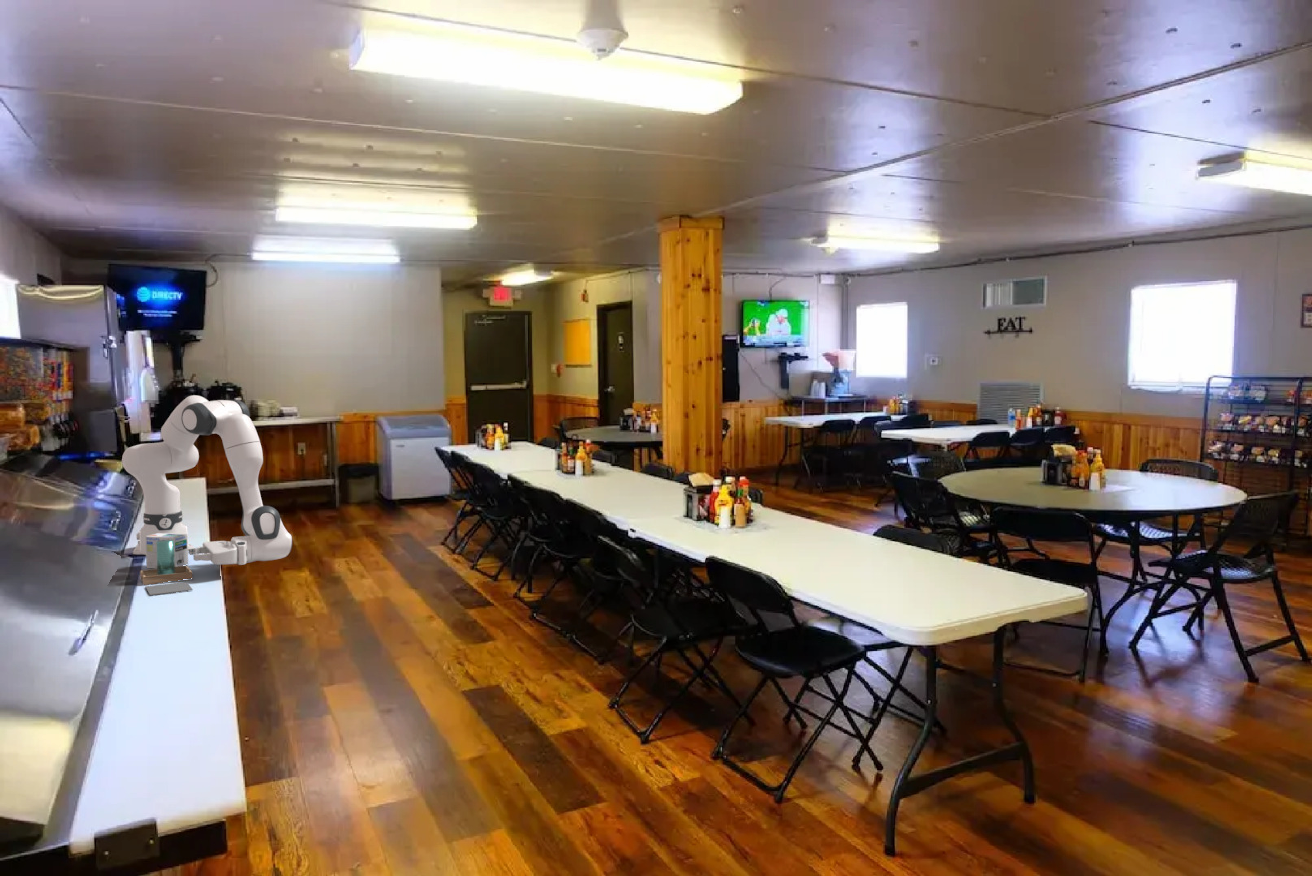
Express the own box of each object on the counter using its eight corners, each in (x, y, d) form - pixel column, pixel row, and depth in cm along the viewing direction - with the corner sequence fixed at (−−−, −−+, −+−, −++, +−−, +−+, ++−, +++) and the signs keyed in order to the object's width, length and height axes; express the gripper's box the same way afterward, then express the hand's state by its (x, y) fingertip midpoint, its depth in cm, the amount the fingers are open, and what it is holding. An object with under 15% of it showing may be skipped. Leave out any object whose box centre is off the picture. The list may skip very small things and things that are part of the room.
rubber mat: (145, 587, 258) (145, 586, 258) (186, 582, 264) (186, 581, 264) (149, 595, 249) (149, 594, 249) (192, 590, 255) (192, 589, 255)
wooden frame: (140, 578, 268) (140, 570, 268) (187, 573, 276) (187, 565, 276) (144, 585, 260) (143, 577, 260) (192, 579, 268) (192, 571, 268)
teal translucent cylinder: (156, 578, 269) (155, 540, 268) (174, 576, 272) (173, 539, 271) (158, 581, 265) (157, 543, 264) (176, 579, 268) (175, 541, 267)
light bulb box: (189, 565, 287) (188, 533, 286) (176, 569, 280) (175, 537, 279) (159, 563, 288) (158, 532, 287) (145, 568, 281) (144, 535, 281)
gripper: (232, 535, 288) (185, 539, 280) (245, 546, 272) (196, 550, 264) (232, 553, 289) (186, 558, 281) (245, 565, 273) (196, 571, 264)
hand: (191, 554), depth 272 cm, fingers open, 8 cm apart
